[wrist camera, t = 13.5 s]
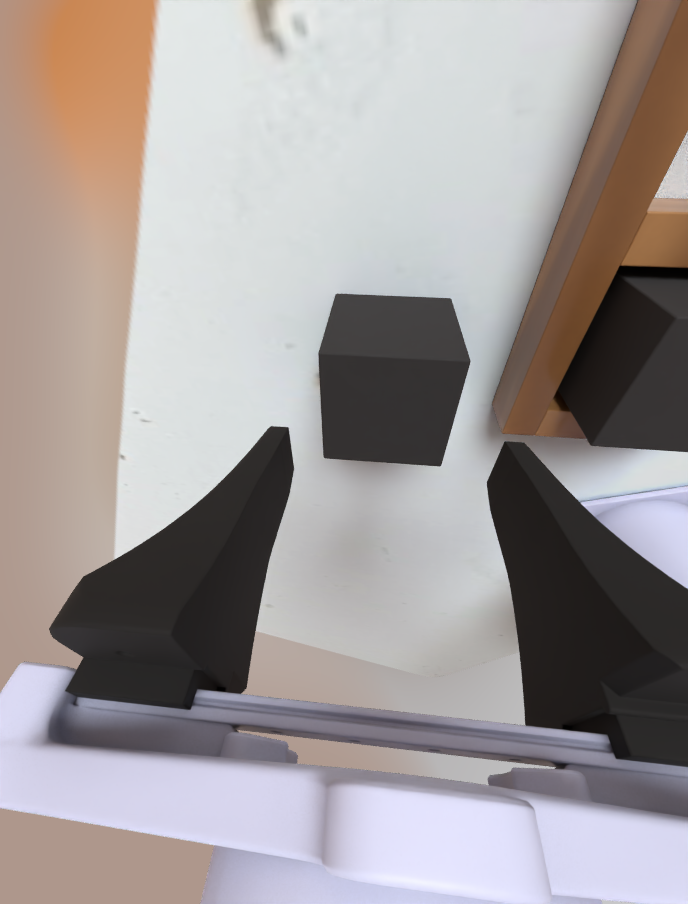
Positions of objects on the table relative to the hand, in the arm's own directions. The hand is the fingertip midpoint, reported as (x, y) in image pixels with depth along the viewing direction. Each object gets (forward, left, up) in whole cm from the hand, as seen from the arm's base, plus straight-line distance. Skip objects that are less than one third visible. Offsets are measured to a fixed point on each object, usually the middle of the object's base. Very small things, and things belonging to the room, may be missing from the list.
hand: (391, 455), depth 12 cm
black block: (0, 0, -8) cm, 8 cm away
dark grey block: (-3, -10, -8) cm, 13 cm away
